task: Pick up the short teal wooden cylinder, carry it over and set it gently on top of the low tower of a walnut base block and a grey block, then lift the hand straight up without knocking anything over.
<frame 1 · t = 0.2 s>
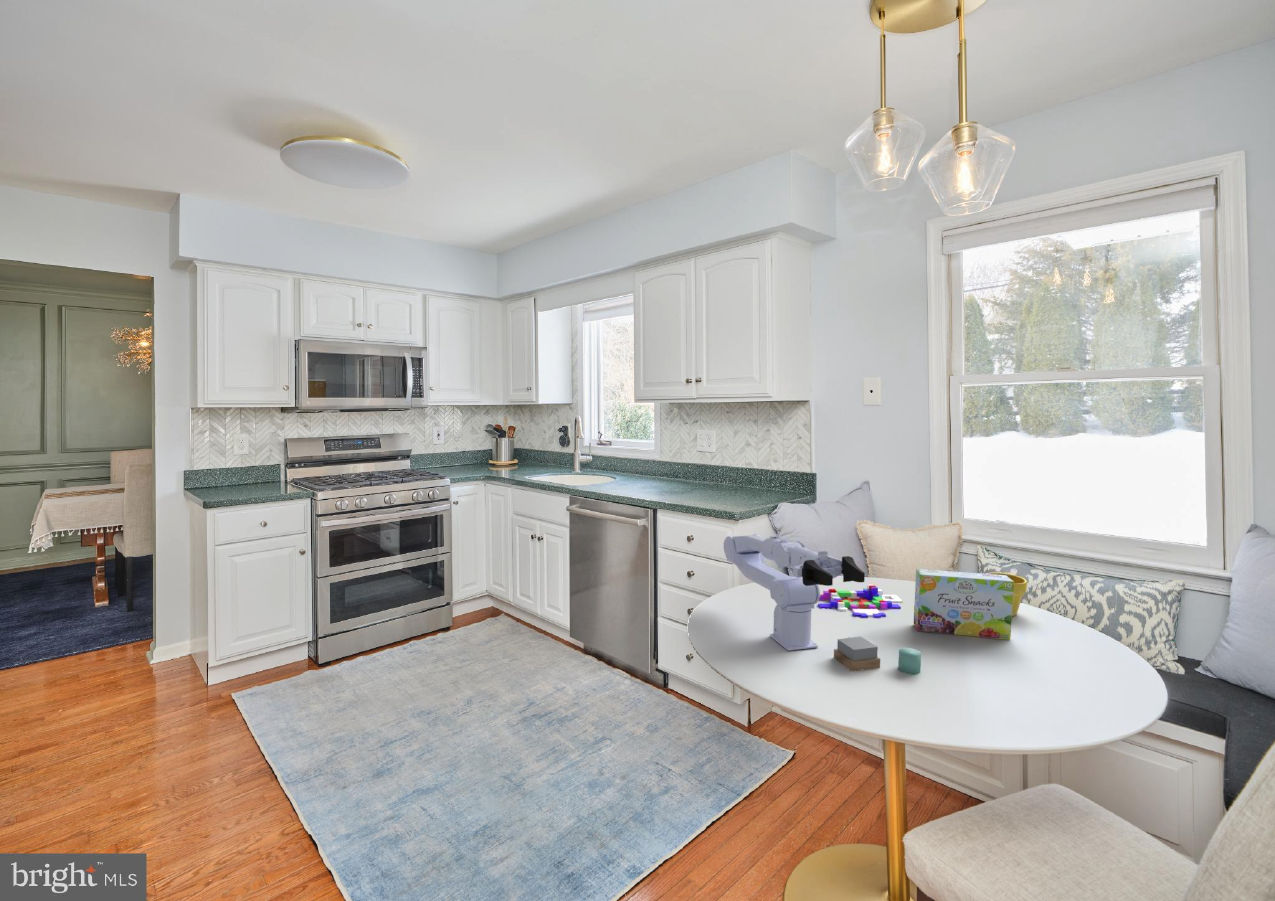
hand: (847, 579, 127), 21 cm above the table, tool horizontal, fingers open, 7 cm apart
building block set: (861, 607, 175), on the table
grey top block: (856, 653, 137), point 2 cm above the table
plant pot: (1002, 613, 169), on the table
snack box: (960, 633, 155), on the table
walnut base block: (856, 664, 137), on the table
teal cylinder: (909, 669, 134), on the table
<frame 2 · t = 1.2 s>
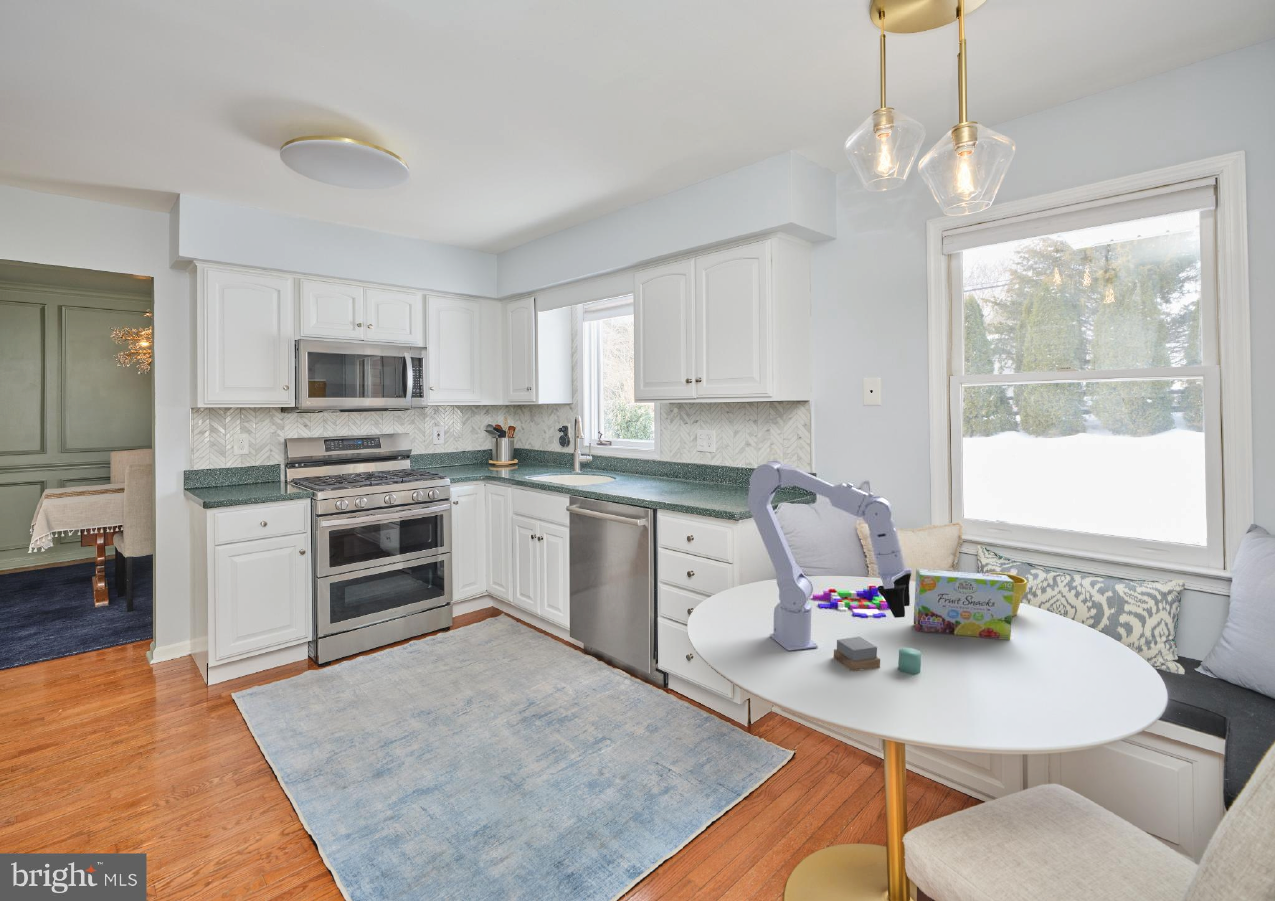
hand: (902, 611, 137), 12 cm above the table, tool tilted 15°, fingers open, 7 cm apart
grey top block: (856, 654, 137), point 2 cm above the table, touching walnut base block
walnut base block: (856, 664, 137), on the table, touching grey top block
everything else where it was.
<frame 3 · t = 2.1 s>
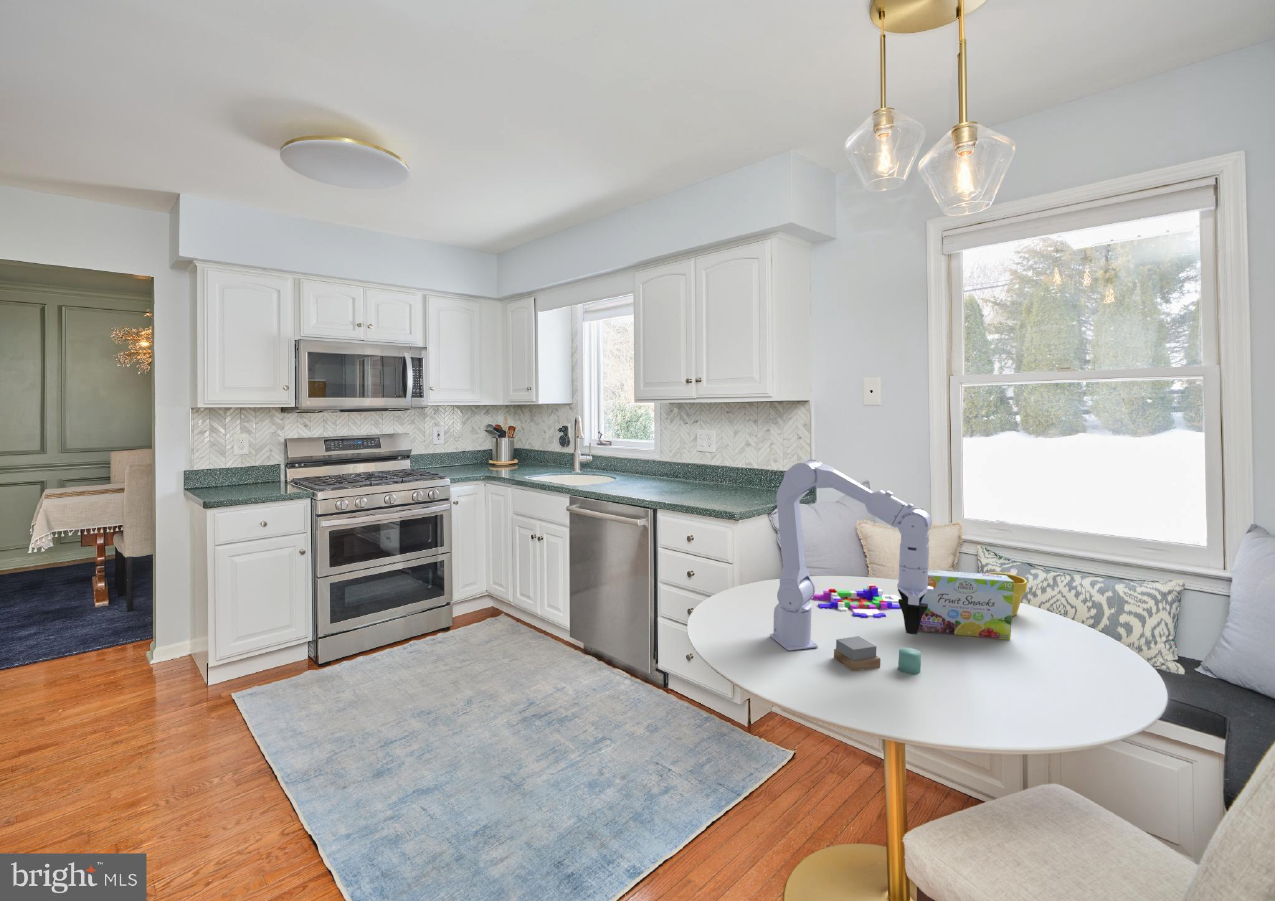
hand: (911, 627, 133), 9 cm above the table, tool pointing down, fingers open, 7 cm apart
nothing on the table moved.
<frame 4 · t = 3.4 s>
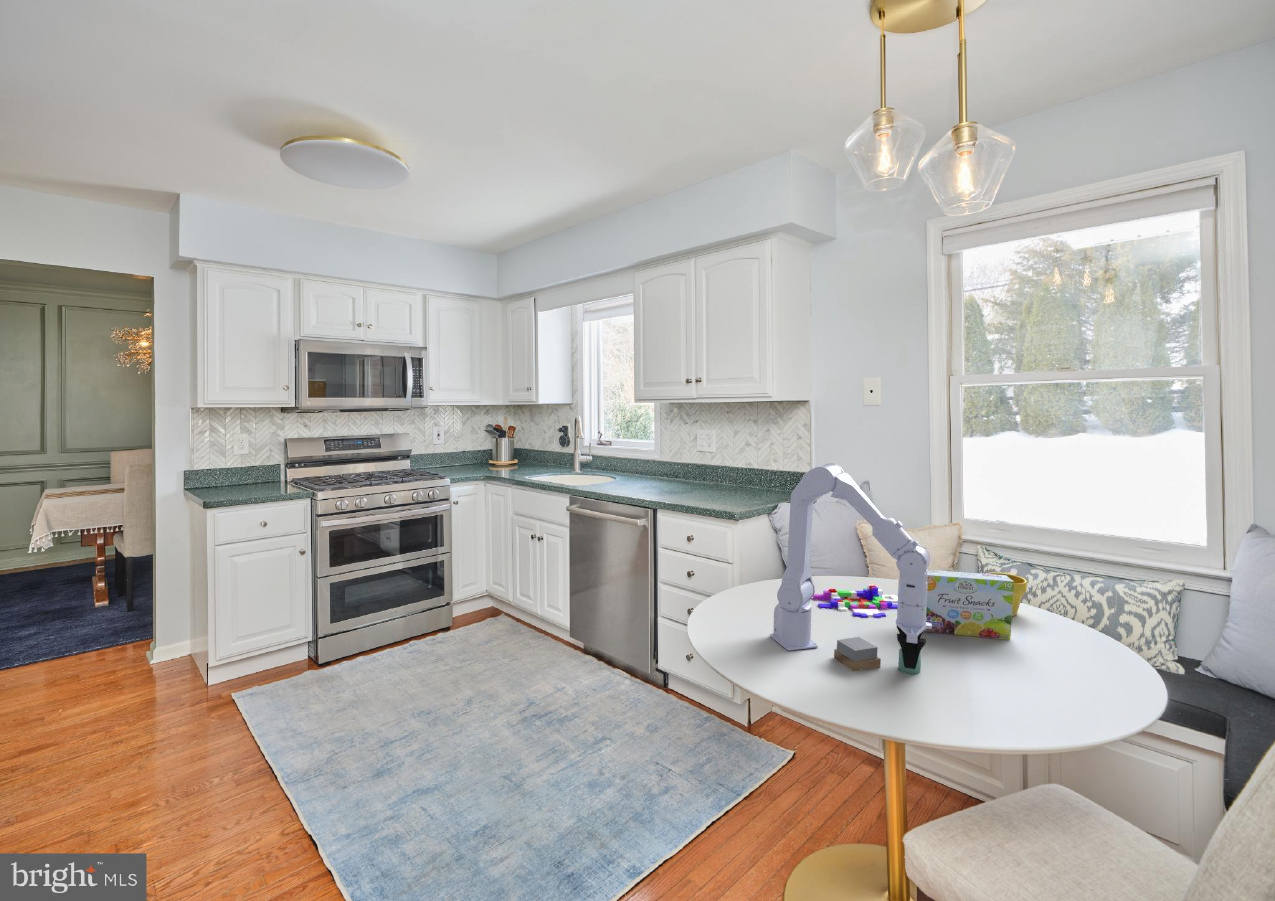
hand: (909, 663, 133), 1 cm above the table, tool pointing down, fingers closed on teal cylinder, 4 cm apart
grey top block: (856, 654, 137), point 2 cm above the table
walnut base block: (856, 664, 137), on the table
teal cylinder: (909, 669, 134), on the table, touching gripper
everything else where it was.
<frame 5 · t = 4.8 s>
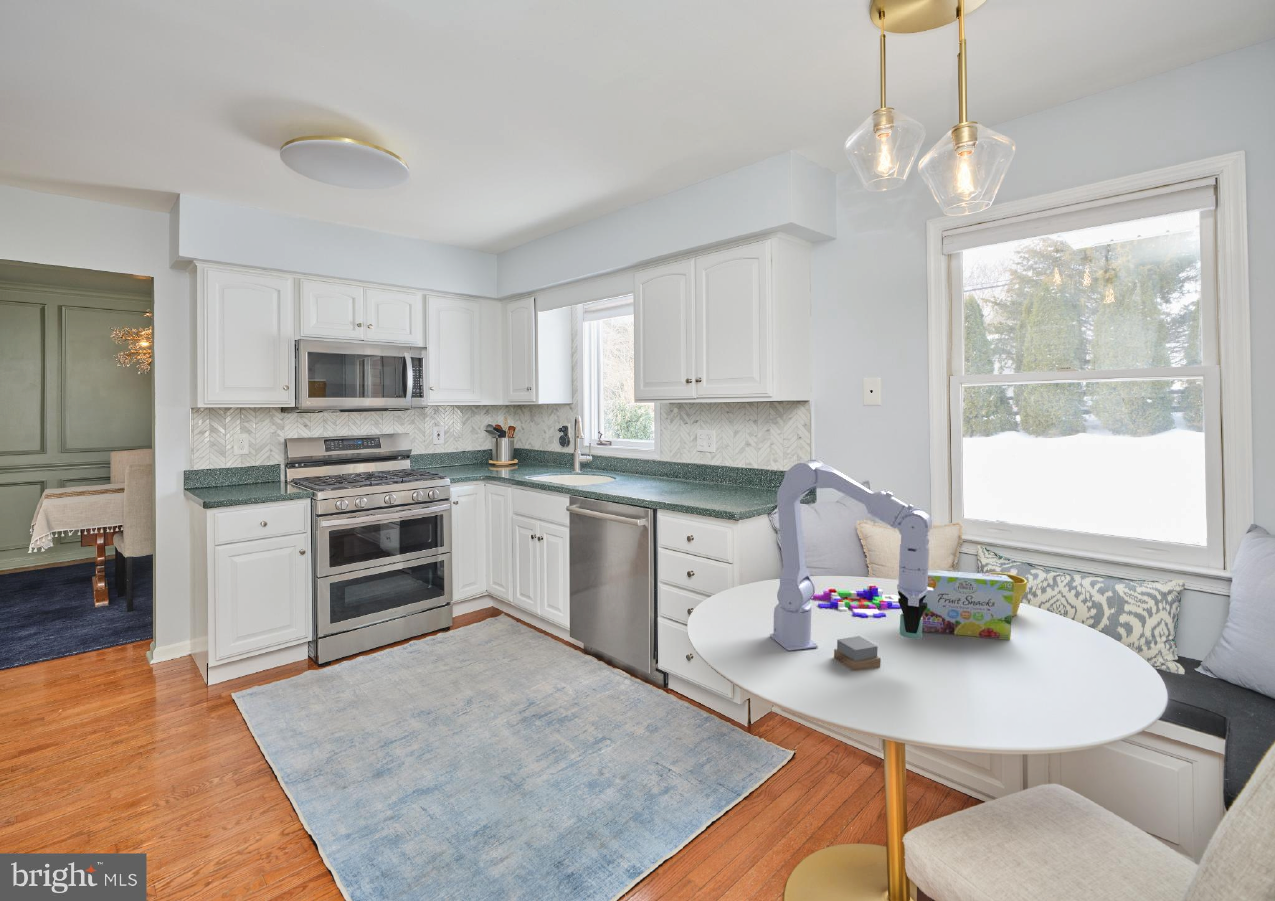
hand: (910, 628, 133), 9 cm above the table, tool pointing down, fingers closed on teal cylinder, 4 cm apart
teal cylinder: (910, 634, 133), point 8 cm above the table, touching gripper
everything else where it was.
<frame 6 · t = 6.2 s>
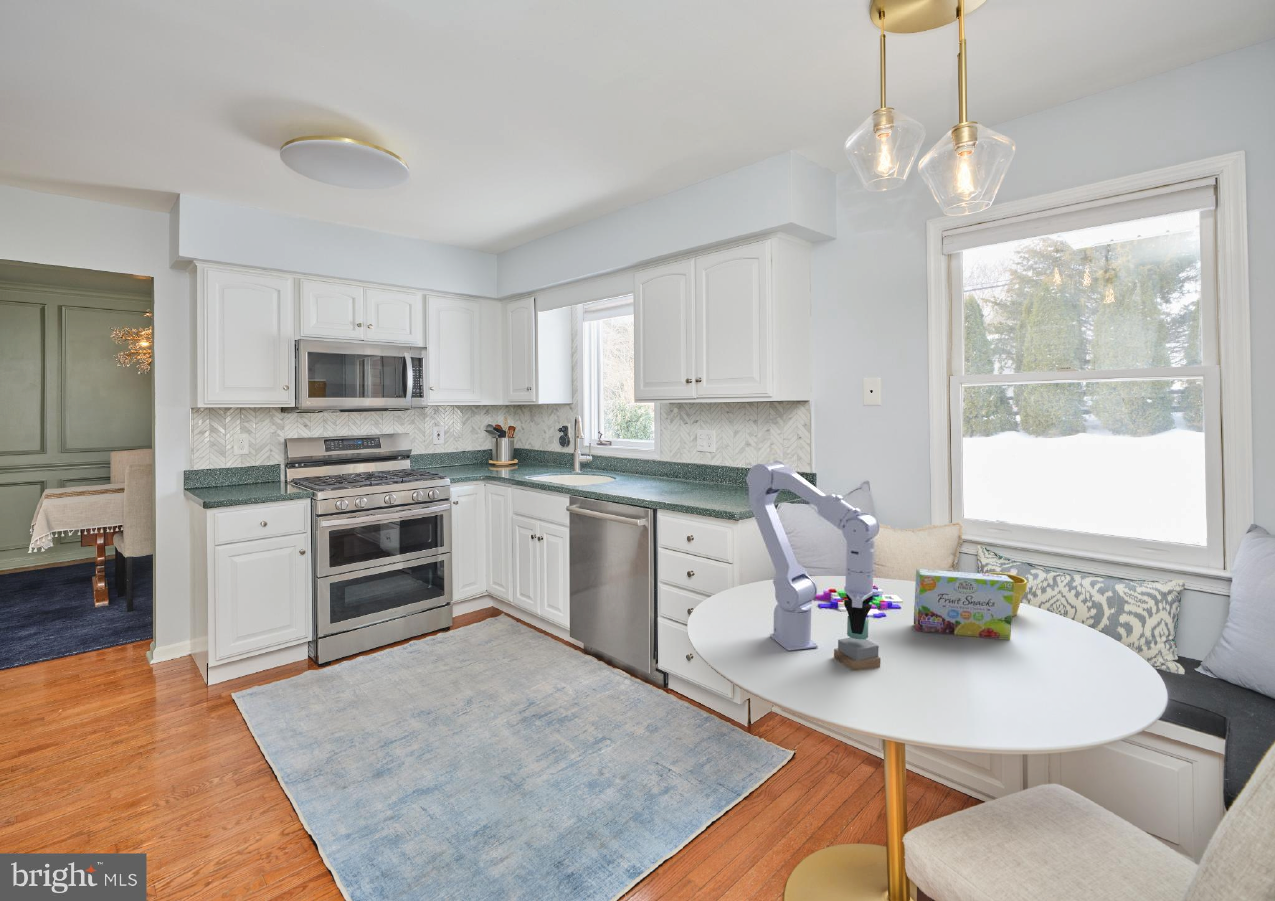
hand: (857, 629, 136), 8 cm above the table, tool pointing down, fingers closed on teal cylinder, 4 cm apart
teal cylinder: (857, 635, 137), point 6 cm above the table, touching gripper
everything else where it was.
when the fingers open (7 cm above the table, at t = 6.7 s): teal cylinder drops 1 cm, resting on grey top block.
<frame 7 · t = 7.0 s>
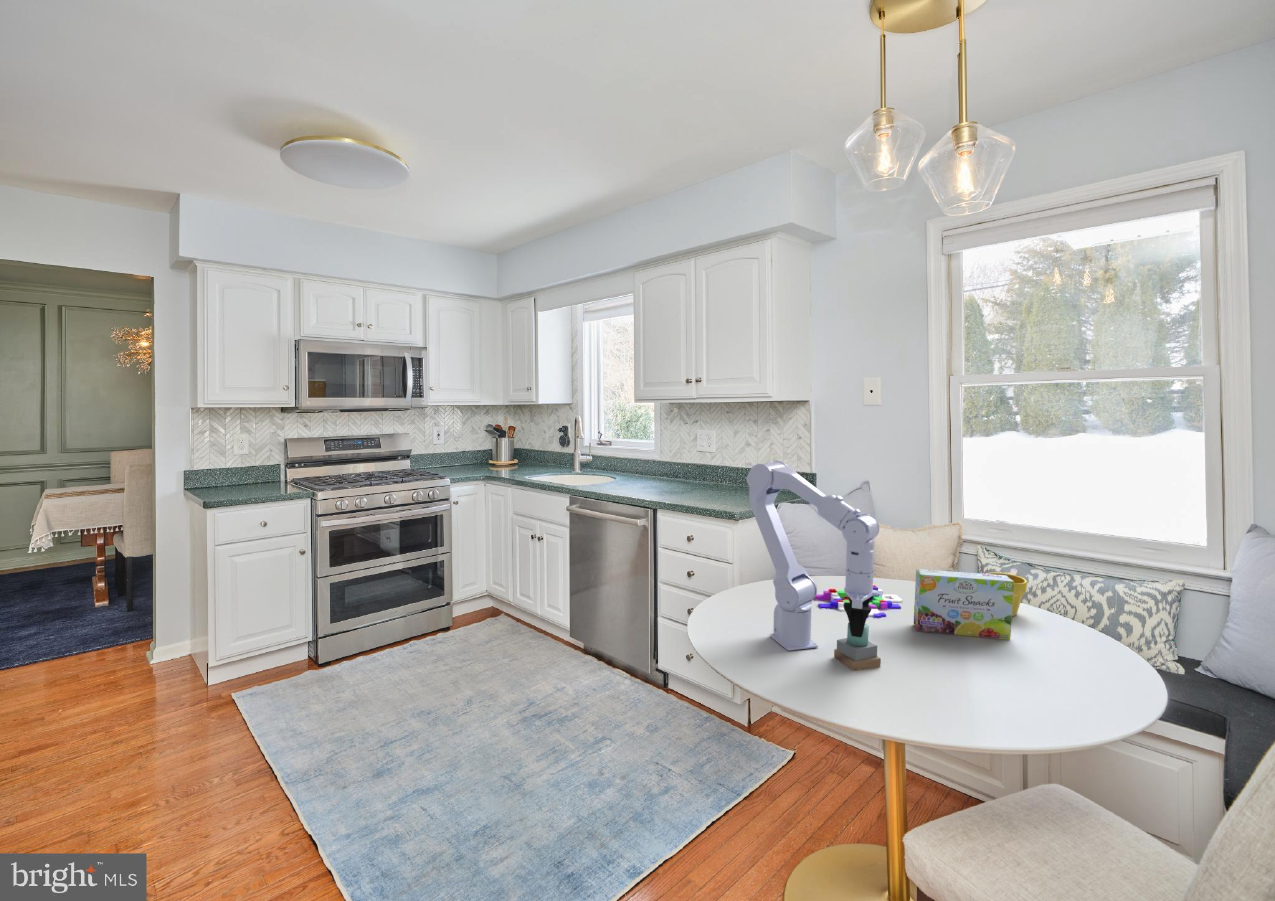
hand: (857, 630, 136), 7 cm above the table, tool pointing down, fingers open, 7 cm apart
grey top block: (856, 653, 137), point 2 cm above the table, touching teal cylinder, walnut base block
walnut base block: (856, 664, 137), on the table, touching grey top block
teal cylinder: (857, 642, 137), point 4 cm above the table, touching grey top block
everything else where it was.
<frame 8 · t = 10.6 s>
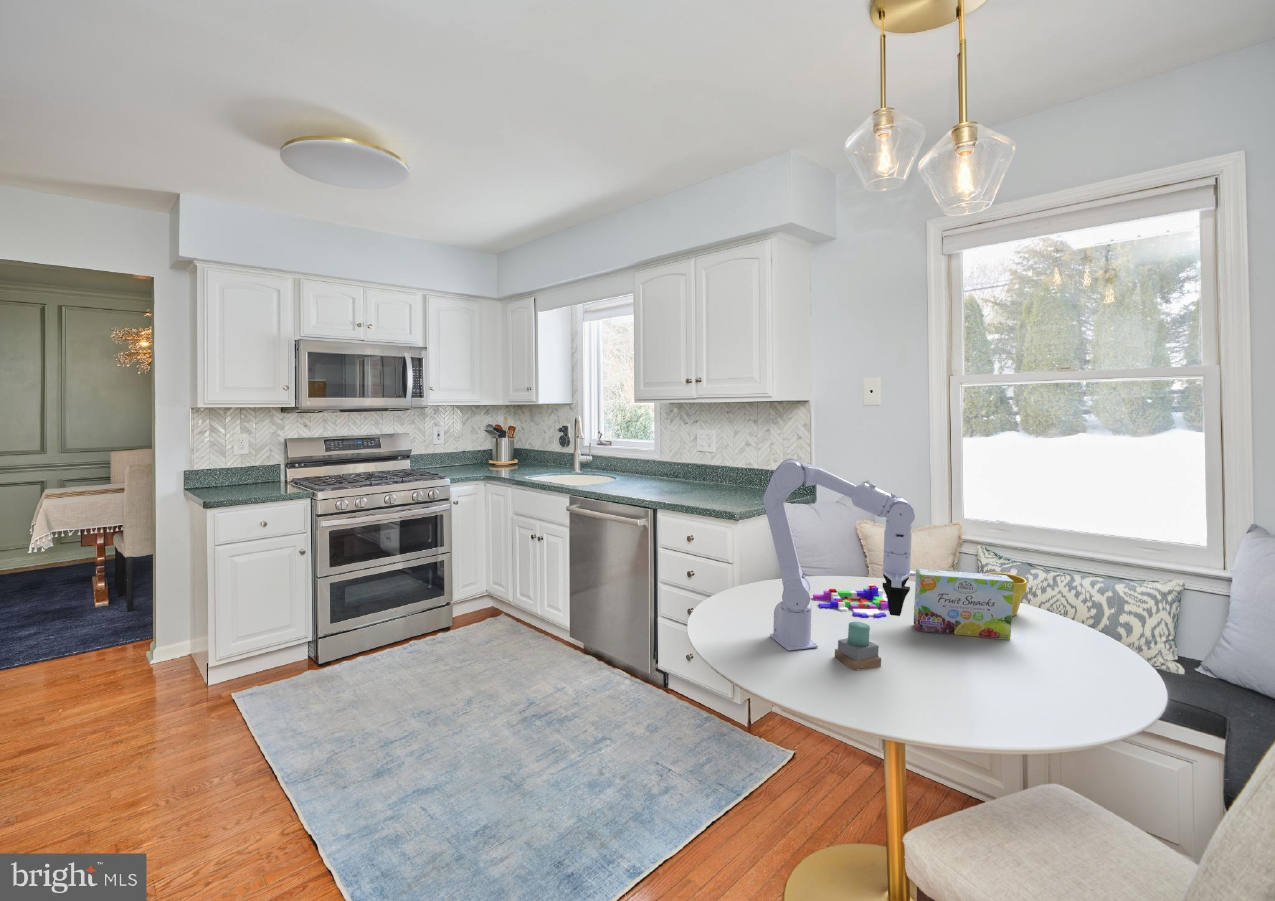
hand: (894, 609, 141), 10 cm above the table, tool pointing down, fingers open, 7 cm apart
grey top block: (857, 653, 137), point 2 cm above the table, touching walnut base block
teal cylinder: (858, 642, 137), point 4 cm above the table
everything else where it was.
at the end: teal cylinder 0.2 cm off-centre on the grey top block, point 2.5 cm above the grey top block's base; grey top block 0.1 cm off-centre on the walnut base block, point 2.5 cm above the walnut base block's base; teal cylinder tilted 0° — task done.
